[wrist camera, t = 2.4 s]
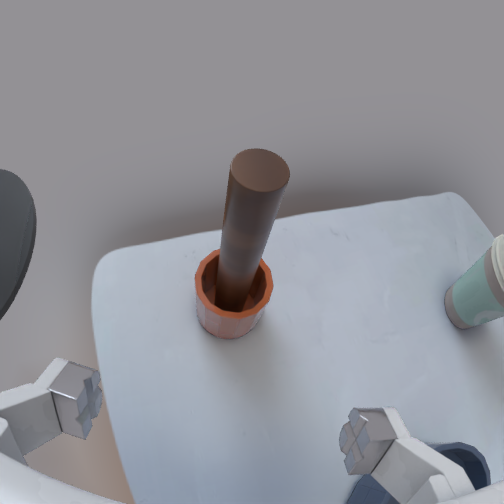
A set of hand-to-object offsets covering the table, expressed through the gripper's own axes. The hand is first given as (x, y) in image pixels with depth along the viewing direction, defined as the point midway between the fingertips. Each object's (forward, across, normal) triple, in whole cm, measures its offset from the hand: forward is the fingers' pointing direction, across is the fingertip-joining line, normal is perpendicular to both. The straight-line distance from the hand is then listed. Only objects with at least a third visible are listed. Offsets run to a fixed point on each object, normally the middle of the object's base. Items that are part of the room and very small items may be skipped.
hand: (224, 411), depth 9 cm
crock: (+20, 0, +6) cm, 21 cm away
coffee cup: (+22, -28, +4) cm, 36 cm away
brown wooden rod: (+19, 0, +6) cm, 20 cm away
